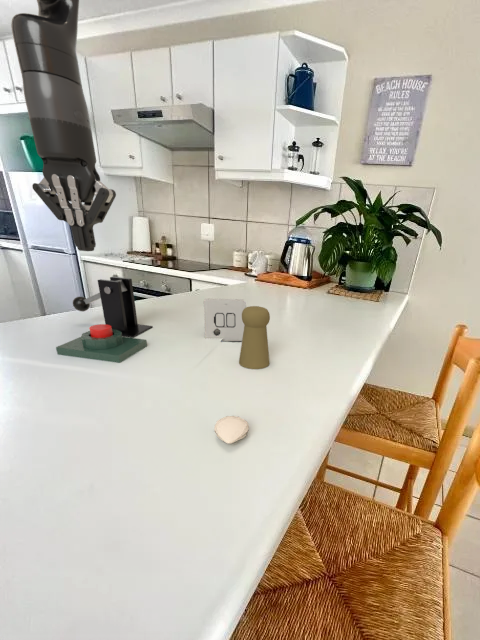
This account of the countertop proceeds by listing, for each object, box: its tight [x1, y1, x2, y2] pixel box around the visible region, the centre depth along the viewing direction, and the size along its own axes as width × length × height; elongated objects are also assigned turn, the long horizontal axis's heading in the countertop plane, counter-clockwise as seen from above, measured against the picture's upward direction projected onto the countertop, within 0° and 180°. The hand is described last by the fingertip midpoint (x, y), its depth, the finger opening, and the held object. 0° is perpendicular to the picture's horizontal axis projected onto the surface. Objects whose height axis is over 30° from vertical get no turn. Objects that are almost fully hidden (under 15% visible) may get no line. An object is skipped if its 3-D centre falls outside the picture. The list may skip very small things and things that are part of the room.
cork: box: [238, 305, 271, 370], centre depth 61 cm, size 6×6×11 cm
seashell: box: [213, 415, 249, 445], centre depth 40 cm, size 4×5×2 cm
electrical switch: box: [203, 297, 247, 342], centre depth 73 cm, size 9×5×9 cm, turn 102°
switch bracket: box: [97, 276, 154, 338], centre depth 70 cm, size 10×8×12 cm
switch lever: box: [72, 280, 127, 312], centre depth 70 cm, size 13×3×3 cm, turn 82°
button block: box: [55, 329, 148, 364], centre depth 61 cm, size 12×9×4 cm
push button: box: [88, 323, 113, 338], centre depth 60 cm, size 4×4×2 cm
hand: (86, 250), depth 55 cm, fingers closed
